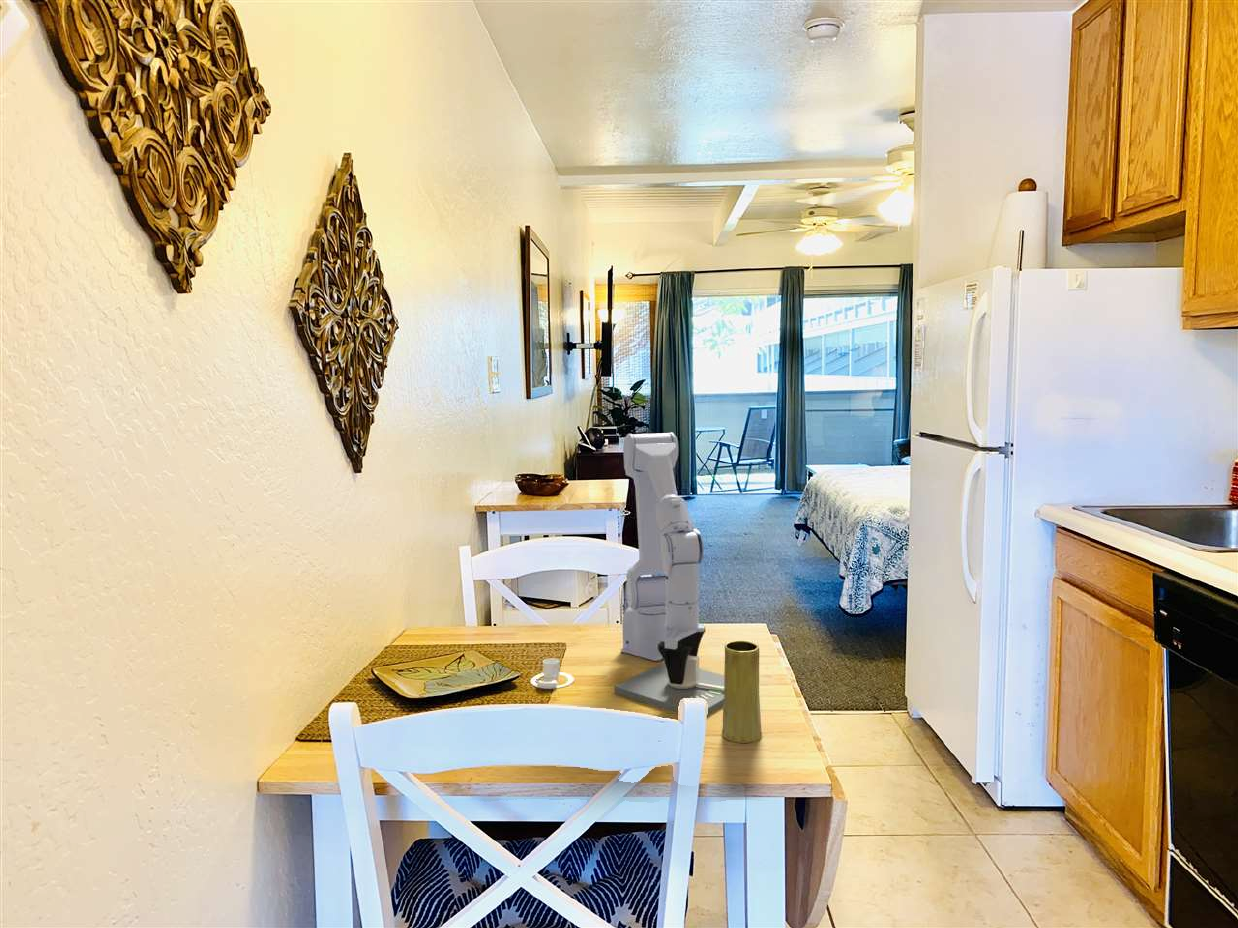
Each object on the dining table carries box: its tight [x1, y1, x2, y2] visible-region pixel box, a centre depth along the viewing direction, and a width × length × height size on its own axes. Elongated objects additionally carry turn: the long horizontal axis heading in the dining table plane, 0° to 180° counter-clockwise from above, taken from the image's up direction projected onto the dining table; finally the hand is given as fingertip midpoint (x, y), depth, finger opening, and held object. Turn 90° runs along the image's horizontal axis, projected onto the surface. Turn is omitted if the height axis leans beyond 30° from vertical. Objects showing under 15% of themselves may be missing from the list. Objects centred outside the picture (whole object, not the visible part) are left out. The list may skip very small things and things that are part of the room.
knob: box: [666, 655, 724, 691], centre depth 139 cm, size 11×5×5 cm, turn 63°
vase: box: [721, 639, 762, 744], centre depth 122 cm, size 6×6×14 cm
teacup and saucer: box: [529, 657, 575, 690], centre depth 146 cm, size 9×8×4 cm
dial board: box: [613, 662, 724, 716], centre depth 140 cm, size 18×16×1 cm
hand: (682, 675), depth 140 cm, fingers open, 7 cm apart
